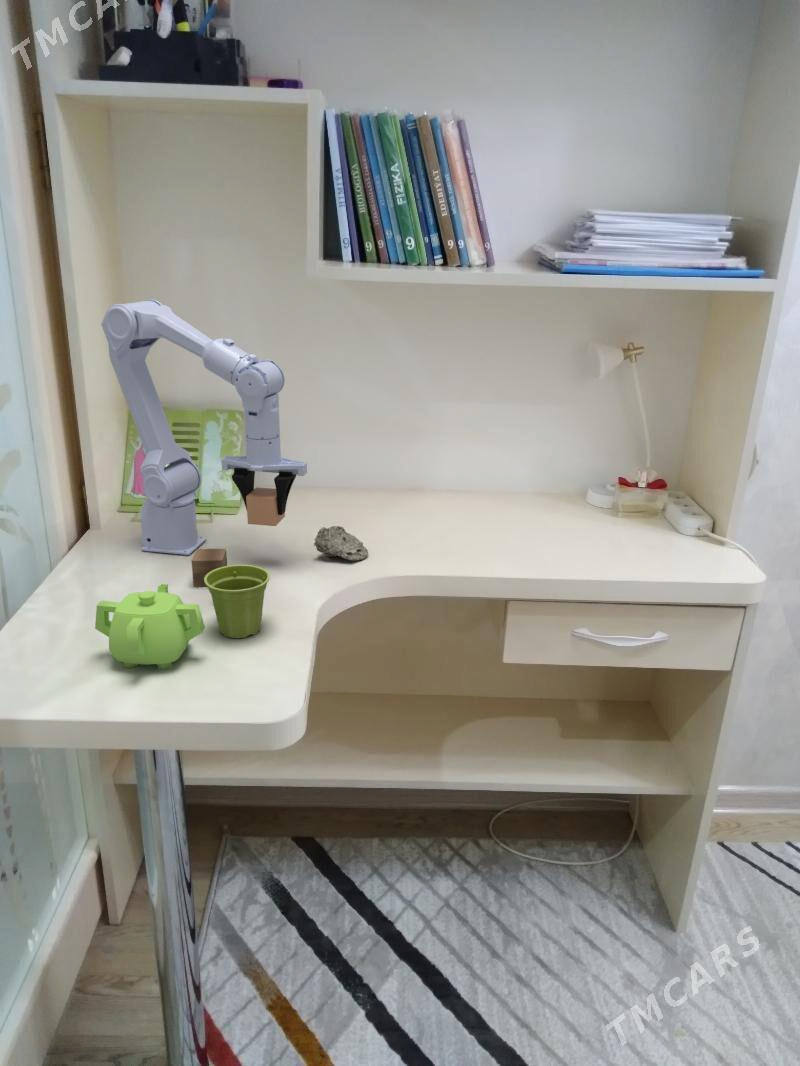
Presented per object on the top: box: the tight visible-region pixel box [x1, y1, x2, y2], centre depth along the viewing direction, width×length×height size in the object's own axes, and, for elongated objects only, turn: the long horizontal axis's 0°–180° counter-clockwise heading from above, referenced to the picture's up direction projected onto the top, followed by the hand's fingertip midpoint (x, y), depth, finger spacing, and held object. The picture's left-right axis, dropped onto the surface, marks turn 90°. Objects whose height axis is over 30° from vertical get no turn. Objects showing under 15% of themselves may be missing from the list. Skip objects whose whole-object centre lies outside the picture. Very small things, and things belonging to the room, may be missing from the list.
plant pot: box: [204, 564, 271, 639], centre depth 122 cm, size 9×9×9 cm
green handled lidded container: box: [94, 583, 206, 670], centre depth 114 cm, size 12×12×10 cm
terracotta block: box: [246, 486, 286, 527], centre depth 142 cm, size 5×5×5 cm
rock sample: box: [313, 524, 369, 562], centre depth 150 cm, size 10×8×9 cm
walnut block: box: [191, 548, 228, 589], centre depth 138 cm, size 5×5×5 cm
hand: (266, 511), depth 143 cm, fingers closed on terracotta block, 5 cm apart
